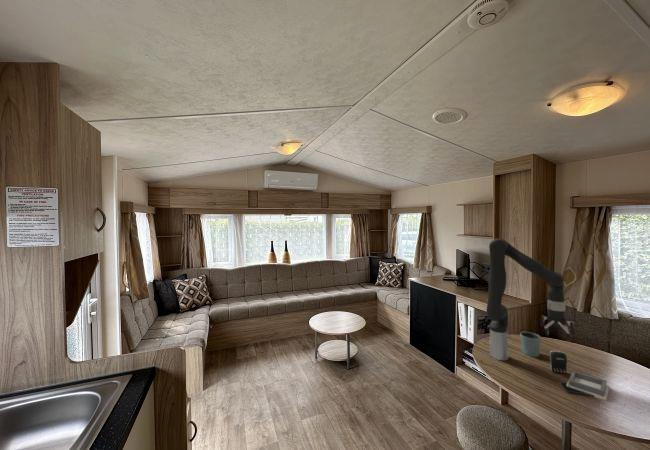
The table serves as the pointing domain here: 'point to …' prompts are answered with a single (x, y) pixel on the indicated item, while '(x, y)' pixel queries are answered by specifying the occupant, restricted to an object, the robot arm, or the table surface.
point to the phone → (573, 390)
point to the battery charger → (558, 362)
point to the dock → (589, 385)
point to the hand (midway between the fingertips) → (557, 337)
